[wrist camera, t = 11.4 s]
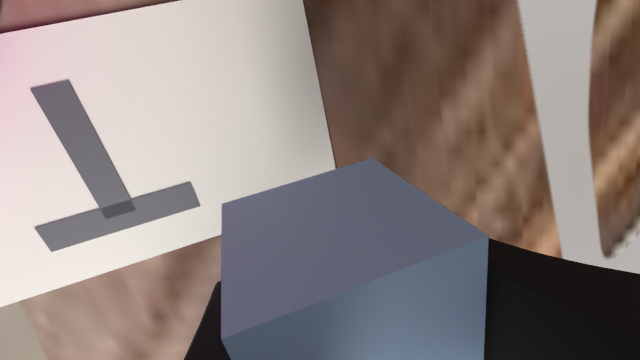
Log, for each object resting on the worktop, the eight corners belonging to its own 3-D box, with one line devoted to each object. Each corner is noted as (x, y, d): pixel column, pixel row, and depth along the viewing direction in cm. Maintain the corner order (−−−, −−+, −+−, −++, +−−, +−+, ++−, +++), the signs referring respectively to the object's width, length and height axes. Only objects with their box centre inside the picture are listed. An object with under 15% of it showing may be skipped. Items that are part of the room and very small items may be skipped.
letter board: (339, 193, 18) (341, 195, 18) (-99, 337, 14) (-105, 342, 14) (297, -21, 14) (298, -22, 14) (-366, 103, 10) (-380, 104, 10)
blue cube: (387, 273, 12) (482, 396, 8) (266, 320, 11) (294, 489, 7) (372, 157, 10) (488, 235, 6) (221, 203, 9) (221, 338, 5)
